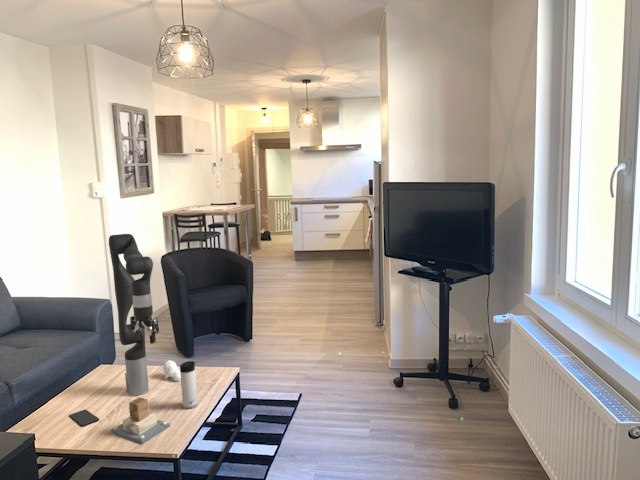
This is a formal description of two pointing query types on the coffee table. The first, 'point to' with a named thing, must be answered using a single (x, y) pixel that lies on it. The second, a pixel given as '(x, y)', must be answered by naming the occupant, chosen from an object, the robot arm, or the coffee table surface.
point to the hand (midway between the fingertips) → (145, 341)
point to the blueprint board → (145, 435)
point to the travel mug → (188, 384)
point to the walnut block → (139, 409)
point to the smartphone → (83, 418)
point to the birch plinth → (140, 424)
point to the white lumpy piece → (171, 370)
